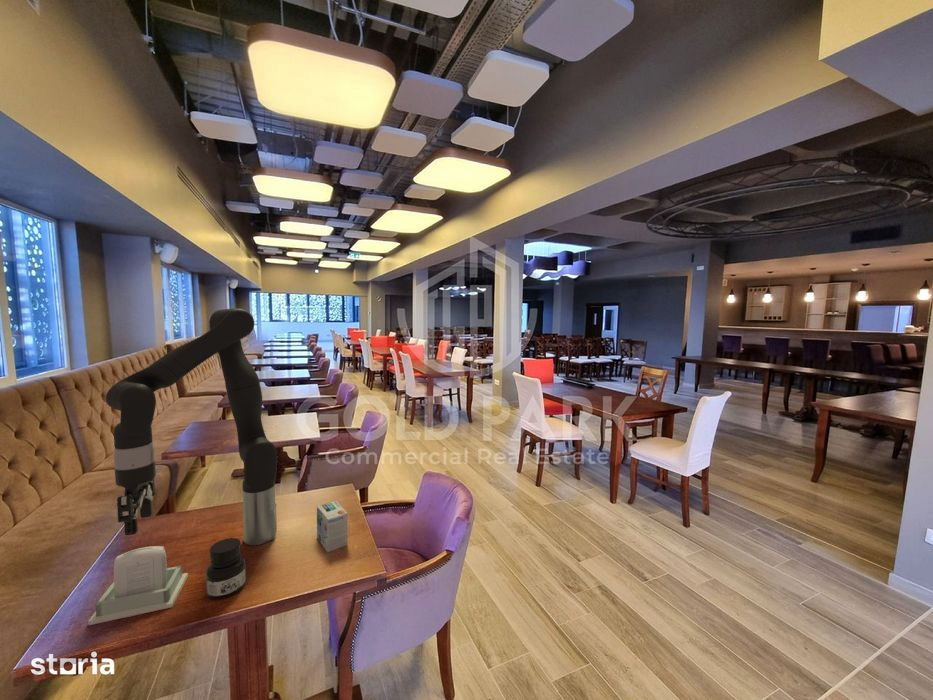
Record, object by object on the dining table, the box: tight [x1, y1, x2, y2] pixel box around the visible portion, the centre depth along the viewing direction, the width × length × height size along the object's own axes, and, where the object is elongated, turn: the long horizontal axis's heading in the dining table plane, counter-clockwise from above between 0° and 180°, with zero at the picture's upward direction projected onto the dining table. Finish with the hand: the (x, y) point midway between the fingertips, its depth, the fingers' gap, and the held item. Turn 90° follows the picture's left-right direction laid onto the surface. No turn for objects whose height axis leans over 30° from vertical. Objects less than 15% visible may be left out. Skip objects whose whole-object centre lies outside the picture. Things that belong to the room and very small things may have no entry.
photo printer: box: [113, 545, 168, 598], centre depth 94 cm, size 10×4×12 cm, turn 119°
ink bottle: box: [205, 537, 247, 600], centre depth 99 cm, size 10×9×12 cm
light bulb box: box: [316, 500, 348, 553], centre depth 121 cm, size 11×7×11 cm, turn 39°
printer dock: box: [87, 565, 189, 626], centre depth 95 cm, size 16×12×4 cm
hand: (139, 524), depth 93 cm, fingers open, 8 cm apart
